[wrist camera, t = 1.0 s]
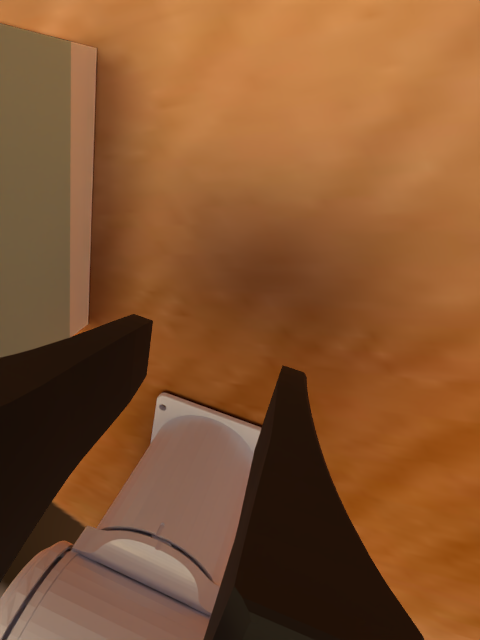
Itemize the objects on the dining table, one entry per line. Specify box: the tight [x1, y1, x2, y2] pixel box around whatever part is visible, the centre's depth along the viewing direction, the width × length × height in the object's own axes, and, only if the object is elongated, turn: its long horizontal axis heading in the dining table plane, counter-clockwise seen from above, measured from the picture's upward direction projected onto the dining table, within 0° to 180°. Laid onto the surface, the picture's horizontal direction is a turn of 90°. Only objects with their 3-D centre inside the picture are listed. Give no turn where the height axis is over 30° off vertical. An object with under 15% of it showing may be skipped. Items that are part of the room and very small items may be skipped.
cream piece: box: [70, 42, 97, 337], centre depth 21 cm, size 15×8×3 cm, turn 167°
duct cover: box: [0, 23, 71, 357], centre depth 16 cm, size 15×7×1 cm
